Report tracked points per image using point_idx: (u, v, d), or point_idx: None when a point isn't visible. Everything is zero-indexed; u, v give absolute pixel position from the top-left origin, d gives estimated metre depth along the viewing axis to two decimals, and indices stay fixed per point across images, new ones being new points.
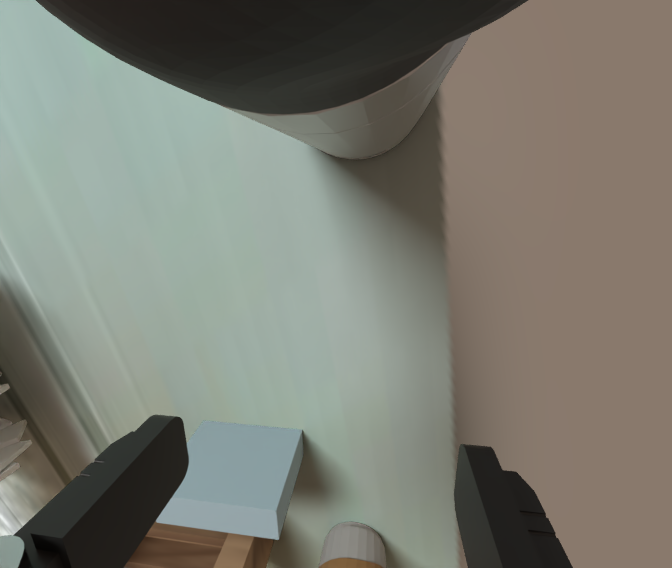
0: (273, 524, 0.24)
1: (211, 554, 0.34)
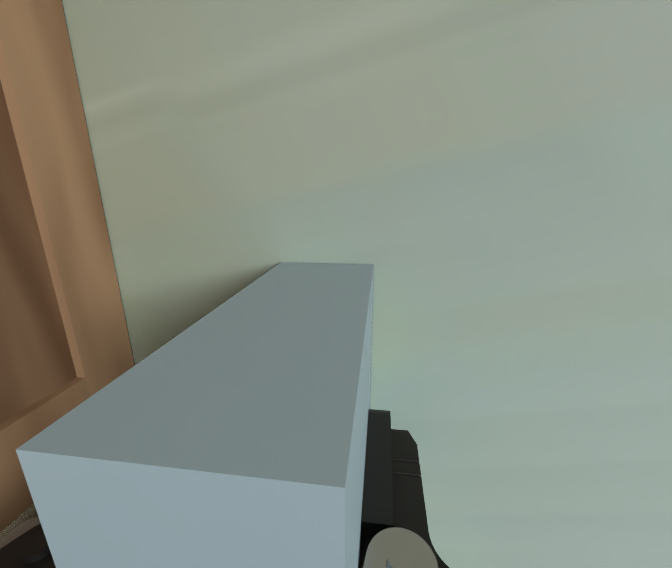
0: None
1: None
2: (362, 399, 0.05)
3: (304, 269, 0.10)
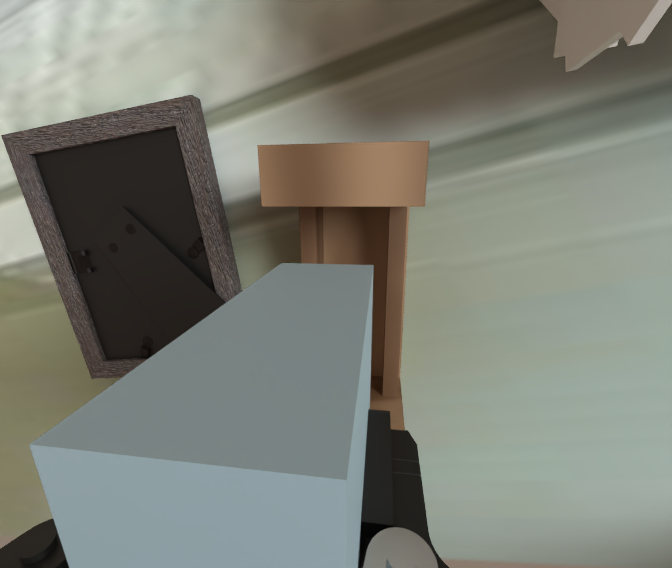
0: None
1: None
2: (362, 397, 0.05)
3: (305, 269, 0.10)
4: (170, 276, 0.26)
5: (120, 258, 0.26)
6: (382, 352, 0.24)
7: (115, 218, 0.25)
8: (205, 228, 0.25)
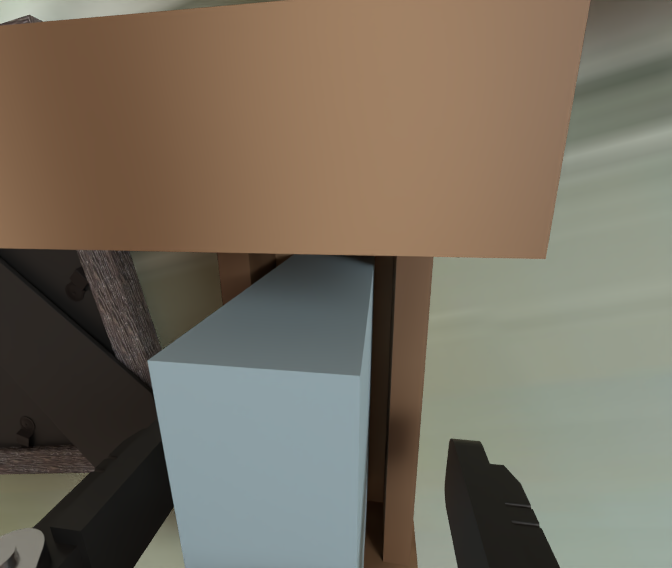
0: None
1: None
2: (367, 352, 0.07)
3: (315, 259, 0.11)
4: (40, 330, 0.16)
5: None
6: (382, 466, 0.14)
7: None
8: (84, 252, 0.15)
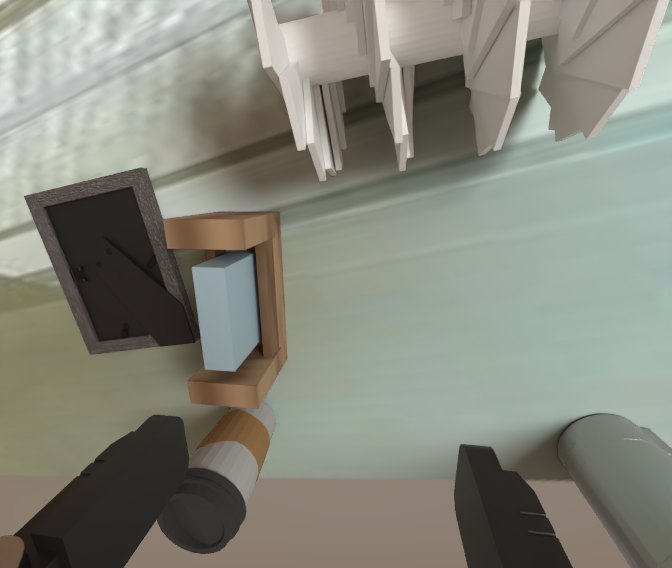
0: (219, 367, 0.31)
1: None
2: (237, 272, 0.30)
3: (237, 252, 0.35)
4: (136, 281, 0.40)
5: (103, 271, 0.40)
6: None
7: (99, 245, 0.39)
8: (156, 248, 0.38)
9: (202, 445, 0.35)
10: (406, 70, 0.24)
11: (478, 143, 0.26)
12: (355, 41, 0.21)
